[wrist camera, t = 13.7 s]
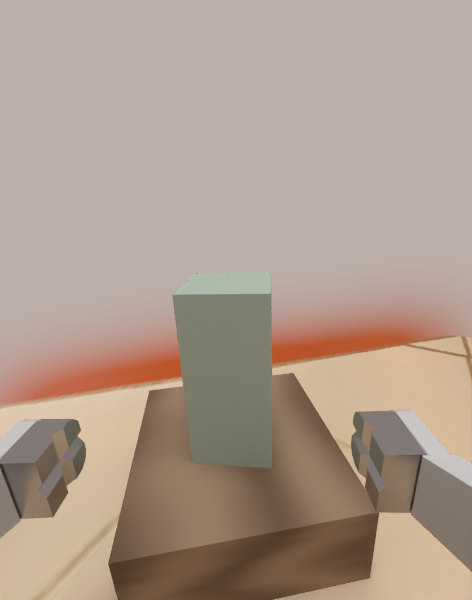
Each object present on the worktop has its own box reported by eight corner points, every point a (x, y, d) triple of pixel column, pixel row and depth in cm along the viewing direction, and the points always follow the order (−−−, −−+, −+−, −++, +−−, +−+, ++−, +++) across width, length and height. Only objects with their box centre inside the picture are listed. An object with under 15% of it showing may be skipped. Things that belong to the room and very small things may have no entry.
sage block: (192, 463, 16) (172, 294, 13) (209, 410, 21) (196, 273, 18) (272, 468, 16) (270, 293, 13) (272, 412, 20) (271, 271, 17)
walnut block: (127, 636, 13) (108, 563, 12) (157, 440, 25) (149, 390, 23) (368, 582, 15) (379, 512, 13) (292, 421, 26) (293, 373, 25)
